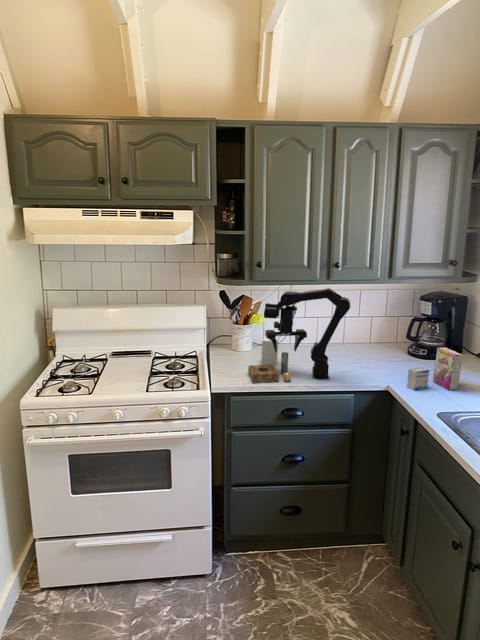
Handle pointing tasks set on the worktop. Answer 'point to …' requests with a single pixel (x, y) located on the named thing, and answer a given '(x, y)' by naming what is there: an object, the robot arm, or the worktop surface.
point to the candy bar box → (447, 368)
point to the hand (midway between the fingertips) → (285, 351)
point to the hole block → (263, 373)
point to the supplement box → (269, 352)
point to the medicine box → (418, 378)
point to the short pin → (287, 377)
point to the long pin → (284, 362)
